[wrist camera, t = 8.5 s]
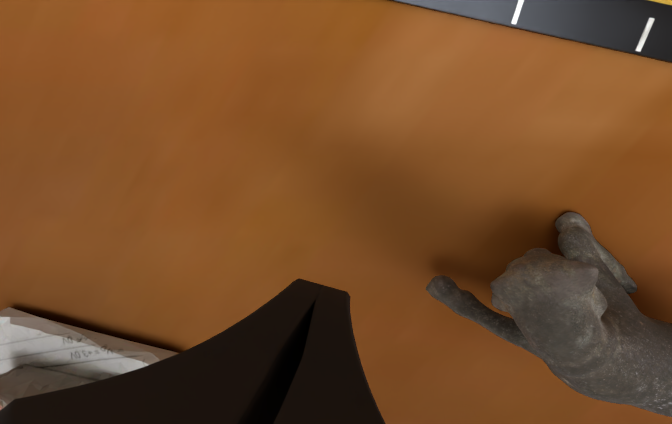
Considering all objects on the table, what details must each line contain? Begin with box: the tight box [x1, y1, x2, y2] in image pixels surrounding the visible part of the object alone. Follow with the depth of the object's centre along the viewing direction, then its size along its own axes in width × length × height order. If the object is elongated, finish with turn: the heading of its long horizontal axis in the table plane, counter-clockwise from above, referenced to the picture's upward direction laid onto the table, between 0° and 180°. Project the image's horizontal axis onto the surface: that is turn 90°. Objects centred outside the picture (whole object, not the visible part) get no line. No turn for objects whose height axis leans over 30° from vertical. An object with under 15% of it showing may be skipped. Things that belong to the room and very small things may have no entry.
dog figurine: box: [426, 212, 672, 417], centre depth 14 cm, size 12×6×7 cm, turn 70°
